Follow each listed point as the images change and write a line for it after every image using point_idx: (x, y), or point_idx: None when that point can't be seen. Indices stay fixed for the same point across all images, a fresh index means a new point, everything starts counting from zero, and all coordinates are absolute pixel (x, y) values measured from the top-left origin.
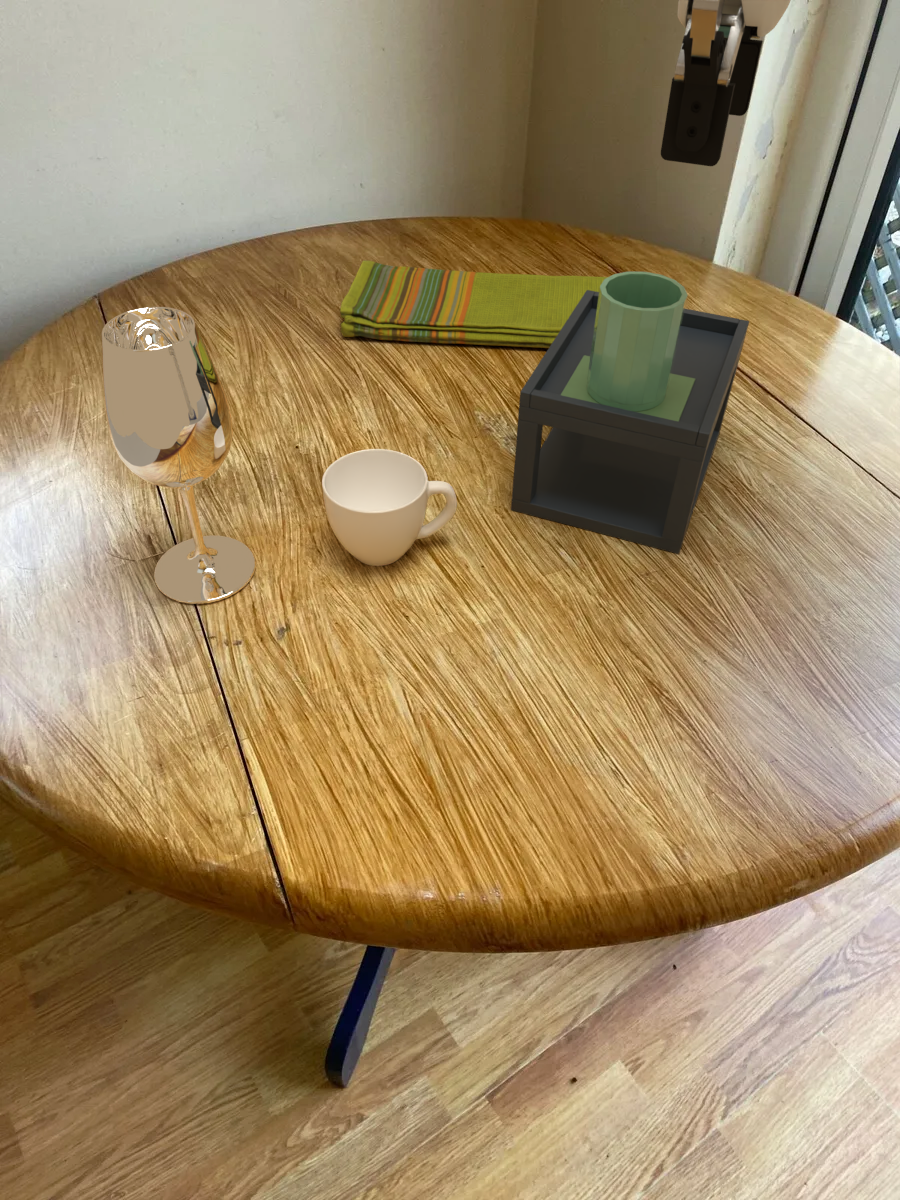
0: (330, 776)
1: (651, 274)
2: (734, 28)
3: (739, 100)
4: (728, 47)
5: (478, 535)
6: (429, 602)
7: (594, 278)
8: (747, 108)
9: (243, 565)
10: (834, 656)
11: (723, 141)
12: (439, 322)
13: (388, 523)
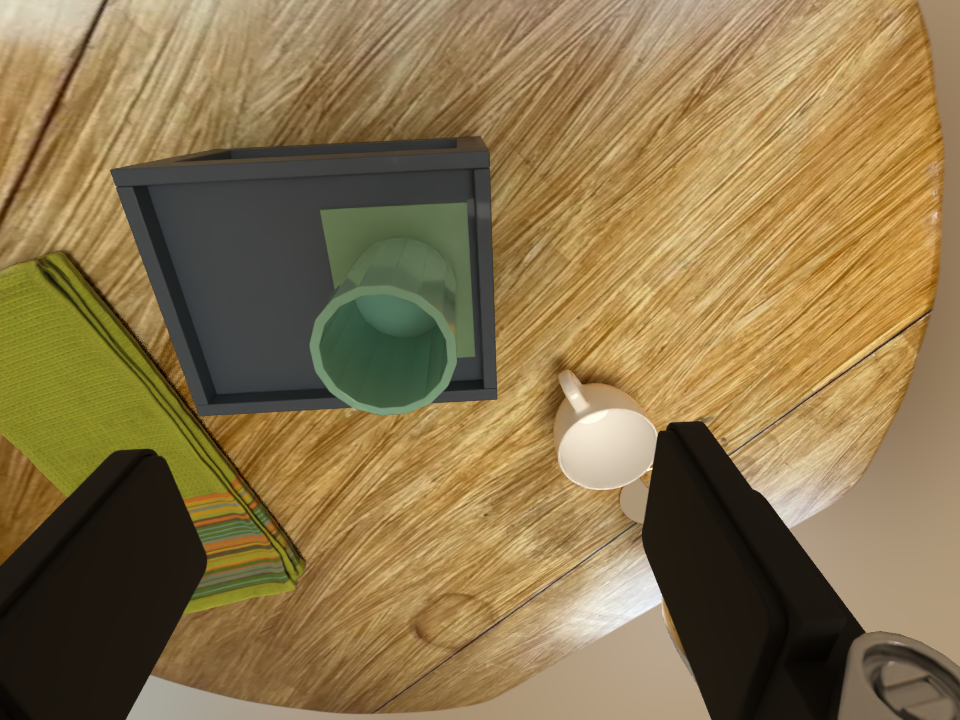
0: (837, 325)
1: (319, 359)
2: None
3: (146, 498)
4: None
5: (537, 338)
6: (639, 339)
7: None
8: (137, 456)
9: (650, 476)
10: None
11: (703, 456)
12: (235, 511)
13: (646, 414)
